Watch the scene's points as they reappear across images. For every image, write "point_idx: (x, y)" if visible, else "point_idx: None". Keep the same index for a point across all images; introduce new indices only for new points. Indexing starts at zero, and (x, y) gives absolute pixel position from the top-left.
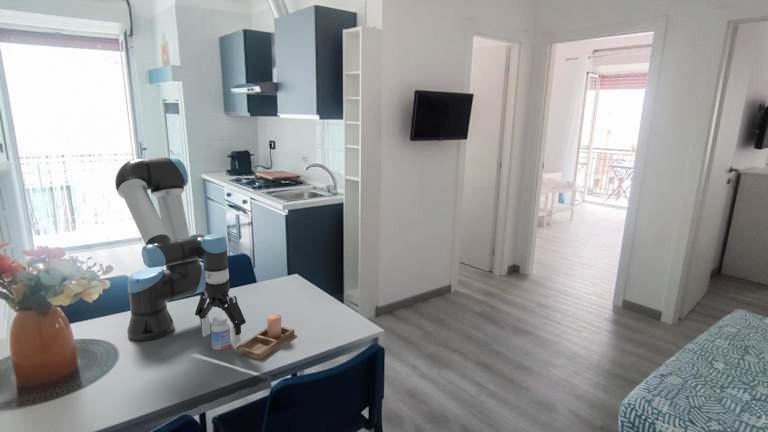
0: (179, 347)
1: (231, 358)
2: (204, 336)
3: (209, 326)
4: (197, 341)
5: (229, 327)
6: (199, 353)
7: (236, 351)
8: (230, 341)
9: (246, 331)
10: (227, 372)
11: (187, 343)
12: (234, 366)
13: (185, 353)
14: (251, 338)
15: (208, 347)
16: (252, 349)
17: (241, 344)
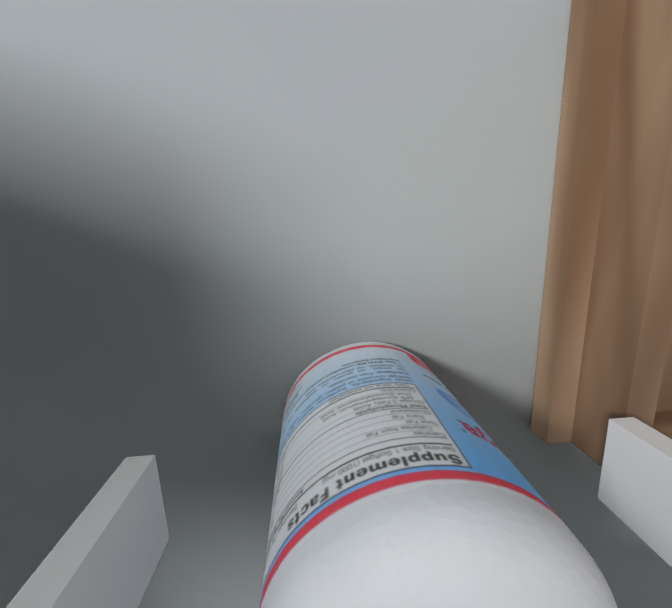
0: (33, 569)
1: (541, 470)
2: (167, 536)
3: (94, 547)
4: (63, 436)
5: (574, 536)
6: (266, 542)
7: (581, 449)
8: (436, 377)
9: (331, 13)
10: (619, 583)
11: (21, 500)
12: (622, 523)
13: (170, 593)
14: (665, 265)
15: (250, 454)
16: (669, 337)
17: (634, 415)
